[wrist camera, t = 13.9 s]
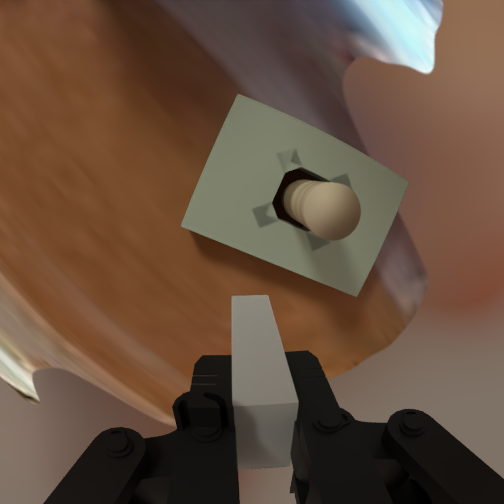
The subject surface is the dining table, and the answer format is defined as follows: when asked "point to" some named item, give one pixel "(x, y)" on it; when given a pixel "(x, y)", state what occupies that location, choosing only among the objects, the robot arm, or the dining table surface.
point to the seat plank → (267, 183)
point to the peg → (322, 207)
